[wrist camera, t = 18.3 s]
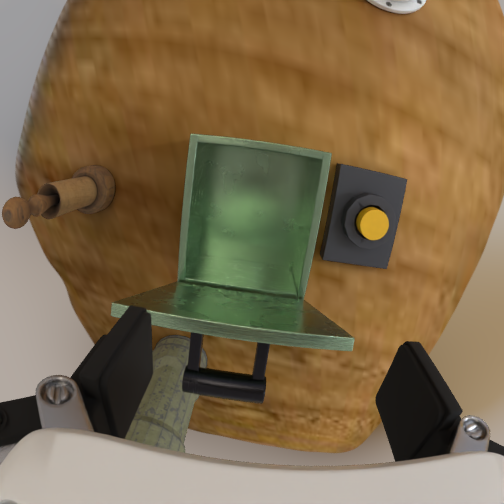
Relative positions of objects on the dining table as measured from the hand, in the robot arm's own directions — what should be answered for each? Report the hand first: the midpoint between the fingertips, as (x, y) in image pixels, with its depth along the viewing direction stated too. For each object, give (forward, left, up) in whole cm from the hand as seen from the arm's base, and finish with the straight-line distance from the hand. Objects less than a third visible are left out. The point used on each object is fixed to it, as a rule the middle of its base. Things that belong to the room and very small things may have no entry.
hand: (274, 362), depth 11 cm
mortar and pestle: (0, -24, -30) cm, 38 cm away
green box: (0, -2, -30) cm, 30 cm away
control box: (-1, +12, -30) cm, 32 cm away
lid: (+5, -2, -13) cm, 14 cm away
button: (-1, +12, -26) cm, 29 cm away
